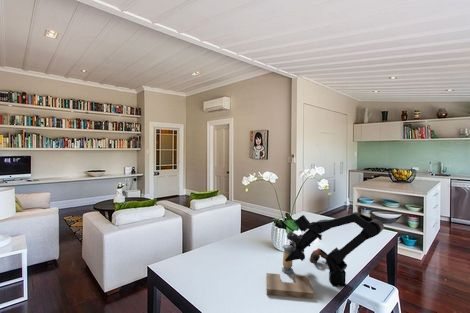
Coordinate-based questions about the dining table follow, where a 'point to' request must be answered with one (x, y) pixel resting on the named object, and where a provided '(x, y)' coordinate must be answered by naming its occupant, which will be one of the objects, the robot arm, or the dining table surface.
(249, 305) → the dining table surface
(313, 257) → the pottery mug
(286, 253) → the bobbin
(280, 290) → the notched board
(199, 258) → the dining table surface
